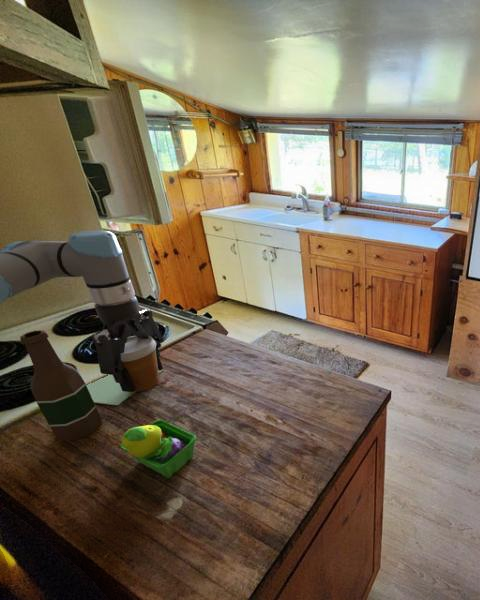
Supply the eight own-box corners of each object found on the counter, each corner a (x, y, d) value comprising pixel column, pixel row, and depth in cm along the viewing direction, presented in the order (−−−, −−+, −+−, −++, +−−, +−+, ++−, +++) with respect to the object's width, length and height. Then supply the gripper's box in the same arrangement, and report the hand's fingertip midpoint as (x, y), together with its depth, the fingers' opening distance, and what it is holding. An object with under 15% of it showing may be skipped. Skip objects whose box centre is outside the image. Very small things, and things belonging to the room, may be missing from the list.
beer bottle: (112, 420, 73) (71, 327, 63) (72, 447, 66) (19, 348, 56) (86, 412, 75) (43, 320, 65) (45, 437, 68) (-11, 340, 58)
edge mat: (65, 398, 78) (64, 398, 78) (117, 364, 91) (117, 364, 91) (117, 405, 77) (117, 405, 77) (163, 370, 90) (163, 369, 90)
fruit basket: (203, 454, 66) (191, 412, 61) (160, 492, 59) (142, 448, 54) (165, 436, 70) (150, 395, 65) (119, 469, 62) (99, 426, 57)
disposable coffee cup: (113, 397, 79) (96, 356, 74) (134, 373, 87) (120, 335, 82) (156, 393, 81) (143, 353, 76) (173, 370, 89) (162, 333, 84)
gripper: (84, 323, 64) (120, 410, 74) (166, 284, 83) (186, 358, 93) (50, 319, 65) (90, 406, 74) (139, 281, 84) (162, 355, 93)
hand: (143, 379), depth 84 cm, fingers closed on disposable coffee cup, 8 cm apart
